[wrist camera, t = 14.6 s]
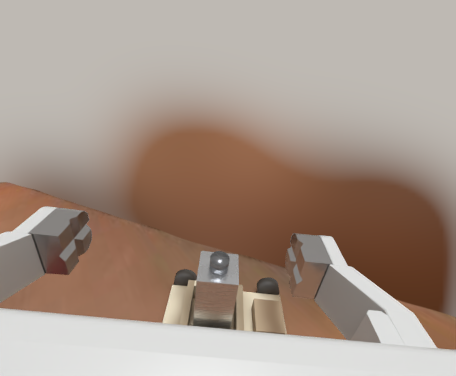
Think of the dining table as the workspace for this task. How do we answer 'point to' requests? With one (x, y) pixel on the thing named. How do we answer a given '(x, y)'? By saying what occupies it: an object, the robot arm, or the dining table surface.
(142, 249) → the dining table surface
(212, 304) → the silver tall block
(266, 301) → the chassis
